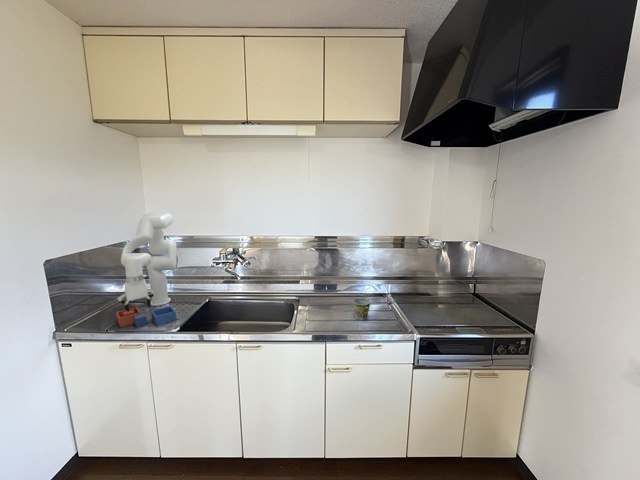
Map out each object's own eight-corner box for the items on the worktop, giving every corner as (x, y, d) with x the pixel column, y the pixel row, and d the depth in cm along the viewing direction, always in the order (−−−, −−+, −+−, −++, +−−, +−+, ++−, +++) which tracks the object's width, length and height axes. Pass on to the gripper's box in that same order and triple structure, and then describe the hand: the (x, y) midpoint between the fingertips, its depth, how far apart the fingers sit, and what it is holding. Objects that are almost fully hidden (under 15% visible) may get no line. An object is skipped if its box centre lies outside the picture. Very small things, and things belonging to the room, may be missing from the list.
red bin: (117, 321, 156) (116, 312, 155) (138, 315, 163) (137, 306, 162) (120, 327, 148) (118, 318, 147) (141, 321, 155) (140, 312, 154)
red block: (123, 320, 156) (122, 312, 155) (133, 317, 159) (132, 309, 158) (125, 323, 152) (123, 315, 151) (135, 320, 155) (134, 312, 154)
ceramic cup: (349, 315, 163) (350, 299, 161) (364, 312, 166) (364, 297, 165) (360, 324, 151) (361, 308, 149) (376, 321, 154) (376, 305, 153)
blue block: (134, 324, 152) (133, 316, 151) (145, 321, 155) (144, 313, 154) (136, 327, 148) (135, 319, 147) (147, 324, 152) (146, 316, 151)
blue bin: (152, 319, 157) (151, 310, 156) (171, 314, 164) (170, 305, 163) (156, 325, 150) (155, 316, 149) (176, 320, 157) (175, 311, 156)
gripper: (151, 274, 155) (154, 302, 158) (114, 280, 144) (118, 311, 146) (154, 276, 150) (158, 306, 153) (116, 283, 138) (120, 315, 141)
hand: (138, 308), depth 150 cm, fingers open, 9 cm apart
